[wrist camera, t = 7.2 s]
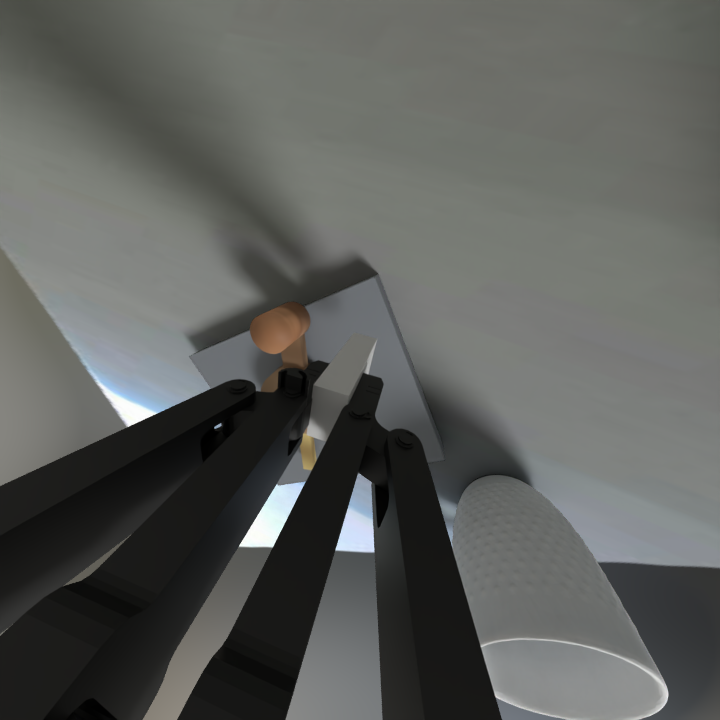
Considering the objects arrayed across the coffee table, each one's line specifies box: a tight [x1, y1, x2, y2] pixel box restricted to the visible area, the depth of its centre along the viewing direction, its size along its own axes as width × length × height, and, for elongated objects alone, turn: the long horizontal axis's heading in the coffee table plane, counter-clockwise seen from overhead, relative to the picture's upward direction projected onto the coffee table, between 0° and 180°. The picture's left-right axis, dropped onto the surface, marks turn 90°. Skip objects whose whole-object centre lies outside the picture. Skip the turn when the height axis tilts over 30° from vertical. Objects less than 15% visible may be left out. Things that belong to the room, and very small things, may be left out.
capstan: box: [250, 302, 317, 470], centre depth 22 cm, size 17×6×4 cm, turn 1°
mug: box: [452, 475, 668, 720], centre depth 22 cm, size 15×11×13 cm
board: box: [189, 274, 445, 485], centre depth 25 cm, size 20×18×2 cm
